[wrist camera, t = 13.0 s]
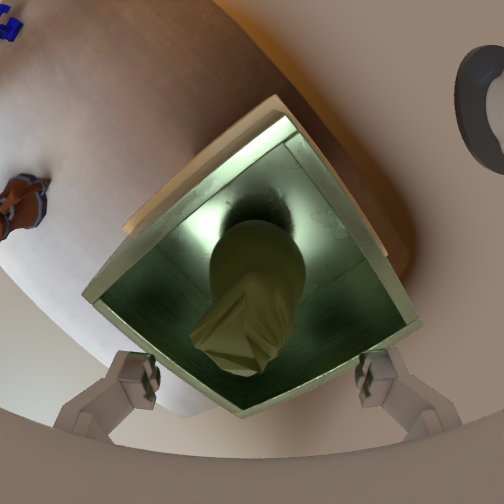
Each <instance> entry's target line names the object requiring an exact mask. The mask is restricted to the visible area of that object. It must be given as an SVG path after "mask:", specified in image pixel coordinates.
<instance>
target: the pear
mask: <svg viewBox="0 0 504 504" xmlns="http://www.w3.org/2000/svg"><path fill="white" fill-rule="evenodd" d="M305 279H306V268H305V262H304V259H303V256H302V253H301V251H300V249H299V247H298V245H297V244H296V242H295V241H294V240H293V239H292V237H291V236H290V235H289V234H288V233H287V232H285V231H284V230H283V229H282V228H280V227H278V226H277V225H275V224H273V223H270V222H267V221H263V220H248V221H244V222H241V223H239V224H237V225H235V226H233V227H231V228H230V229H229V230H227V231H226V232H225V233H224V234H223V235H222V236H221V237H220V239H219V240H218V241H217V243H216V245H215V246H214V249H213V251H212V254H211V257H210V263H209V281H210V289H211V294H212V299H213V302H214V304H213V305H212V306H211V307H210V308H209V309H208V310H207V311H206V312H205V313H204V315H203V316H202V317H201V318H200V319H199V320H198V321H197V322H196V324H195V326H194V327H193V329H192V333H191V334H190V337H191V340H192V343H193V345H194V347H195V348H197V349H200V350H202V351H203V352H205V353H206V354H207V355H208V356H209V357H210V358H211V359H212V360H213V361H214V362H215V363H216V364H217V365H218V366H219V367H220V368H221V369H222V370H224V371H228V372H230V373H232V374H234V375H241V376H245V377H249V376H251V375H253V374H256V373H262V372H263V370H264V368H265V367H266V365H267V363H268V362H270V361H271V360H272V359H274V358H275V357H276V356H277V355H278V354H279V353H280V352H281V351H282V350H283V348H284V347H285V345H286V343H287V342H288V340H289V338H290V336H291V333H292V330H293V325H294V311H295V309H296V307H297V305H298V303H299V301H300V298H301V296H302V293H303V290H304V286H305Z"/></svg>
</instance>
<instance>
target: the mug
mask: <svg viewBox="0 0 504 504" xmlns="http://www.w3.org/2000/svg"><path fill="white" fill-rule="evenodd" d="M49 183H50V180H49V179H46V180H45V181H41V180H36V179H35V178H34V176H31V175H25V174H20V175H18V176H16V177H13V178H11V179H10V180H9V182H8V184H7V186H6V188H5V190H4V191H3V192H2V193H1V194H0V242H1V241H2V240H5V239H6V238H7V236H8V234H9V233H10V232H11V231H13V230H15V229H19V228H25V229H30V228H34V227H37V226H38V225H39V223H40V222H41V220H42V219H43V217H44V216H45V214H46V202H47V199H46V197H45V194H44V193H45V191H46V187H47V186H48V185H49Z"/></svg>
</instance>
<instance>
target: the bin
mask: <svg viewBox="0 0 504 504" xmlns="http://www.w3.org/2000/svg"><path fill="white" fill-rule="evenodd" d="M248 220H263V221H267V222H270V223H273V224H275V225H277V226H278V227H280V228H282V229H283V230H284V231H285V232H287V233H288V234H289V235H290V236H291V237H292V239H293V240H294V241H295V242H296V244H297V245H298V247H299V249H300V251H301V253H302V256H303V259H304V262H305V268H306V279H305V286H304V290H303V293H302V296H301V298H300V301H299V303H298V305H297V307H296V309H295V311H294V325H293V330H292V333H291V336H290V338H289V340H288V342H287V343H286V345H285V347H284V348H283V350H282V351H281V352H280V353H279V354H278V355H277V356H276V357H275V358H274V359H272V360H271V361H270V362H268V363H267V365H266V367H265V368H264V370H263V372H262V373H256V374H253V375H251V376H249V377H245V376H241V375H234V374H232V373H230V372H228V371H224V370H222V369H221V368H220V367H219V366H218V365H217V364H216V363H215V362H214V361H213V360H212V359H211V358H210V357H209V356H208V355H207V354H206V353H205V352H203V351H202V350H200V349H197V348H195V347H194V345H193V343H192V340H191V337H190V334H191V333H192V329H193V327H194V326H195V324H196V322H197V321H198V320H199V319H200V318H201V317H202V316H203V315H204V313H205V312H206V311H207V310H208V309H209V308H210V307H211V306H212V305H213V304H214V302H213V299H212V294H211V289H210V281H209V263H210V257H211V254H212V251H213V249H214V246H215V245H216V243H217V241H218V240H219V239H220V237H221V236H222V235H223V234H224V233H225V232H226V231H227V230H229V229H230V228H231V227H233V226H235V225H237V224H239V223H241V222H244V221H248ZM122 228H123V230H124V231H125V232H126V233H127V234H128V236H127V237H126V238H125V240H124V241H123V242H122V243H121V244H120V246H119V247H118V248H117V249H116V250H115V252H114V253H113V254H112V255H111V257H110V258H109V259H108V260H107V261H106V263H105V264H104V265H103V266H102V268H101V269H100V270H99V272H98V273H97V274H96V275H95V277H94V278H93V279H92V281H91V282H90V283H89V284H88V286H87V287H86V288H85V290H84V291H83V292H82V296H83V297H84V298H85V299H86V300H87V301H88V302H89V303H90V304H93V305H92V306H93V307H94V308H95V309H96V310H97V311H98V312H100V313H101V314H102V315H103V316H104V317H105V318H106V319H107V320H108V321H110V322H111V323H112V324H113V325H114V326H115V327H116V328H118V329H119V330H120V331H121V332H122V333H123V334H125V335H126V336H127V337H128V338H129V339H130V340H132V341H133V342H134V343H135V344H137V345H138V346H139V347H140V348H141V349H143V350H144V351H145V352H146V353H149V354H154V356H155V359H156V360H157V361H158V362H159V363H160V364H162V365H163V366H164V367H166V368H167V369H168V370H170V371H171V372H172V373H174V374H175V375H177V376H178V377H179V378H181V379H182V380H183V381H185V382H186V383H188V384H189V385H190V386H192V387H193V388H195V389H196V390H198V391H199V392H200V393H202V394H203V395H205V396H206V397H208V398H209V399H211V400H212V401H214V402H215V403H217V404H218V405H220V406H222V407H223V408H225V409H226V410H228V411H229V412H231V413H233V414H234V415H236V416H237V417H239V418H240V419H244V418H246V417H249V416H252V415H254V414H257V413H259V412H262V411H264V410H266V409H269V408H271V407H274V406H276V405H278V404H281V403H283V402H285V401H288V400H290V399H292V398H294V397H296V396H299V395H301V394H303V393H305V392H307V391H309V390H312V389H314V388H315V387H318V386H320V385H322V384H324V383H326V382H328V381H330V380H332V379H334V378H336V377H338V376H340V375H341V374H343V373H345V372H347V371H349V370H351V369H353V368H355V367H356V365H357V364H359V363H360V360H359V355H360V353H361V351H367V350H375V349H385V348H389V347H391V346H393V345H394V344H396V343H397V342H399V341H401V340H402V339H404V338H405V337H407V336H408V335H410V334H412V333H413V332H415V331H416V330H418V329H419V328H421V327H422V326H423V324H422V322H421V320H420V319H419V316H418V314H417V312H416V310H415V308H414V307H413V305H412V303H411V301H410V299H409V297H408V295H407V293H406V292H405V290H404V288H403V286H402V284H401V282H400V281H399V279H398V277H397V275H396V273H395V272H394V270H393V268H392V266H391V265H390V263H389V261H388V259H387V258H386V256H387V255H388V253H387V251H386V250H385V248H384V246H383V245H382V243H381V241H380V240H379V238H378V236H377V235H376V233H375V231H374V230H373V228H372V226H371V225H370V223H369V222H368V220H367V218H366V217H365V215H364V214H363V212H362V211H361V209H360V207H359V206H358V204H357V203H356V201H355V200H354V198H353V197H352V195H351V194H350V192H349V191H348V189H347V188H346V186H345V185H344V183H343V182H342V180H341V179H340V178H339V176H338V175H337V173H336V172H335V170H334V169H333V167H332V166H331V165H330V163H329V162H328V160H327V159H326V158H325V156H324V155H323V154H322V152H321V151H320V149H319V148H318V147H317V145H316V144H315V143H314V141H313V140H312V139H311V137H310V136H309V135H308V133H307V132H306V131H305V130H304V128H303V127H302V126H301V124H300V123H299V122H298V121H297V119H296V118H295V117H294V115H293V114H292V113H291V112H290V110H289V109H288V108H287V107H286V106H285V104H284V103H283V102H282V101H281V99H280V98H279V97H278V96H277V95H276V94H274V95H272V96H271V97H269V98H267V99H265V100H264V101H262V102H261V103H260V104H258V105H257V106H256V107H255V108H253V109H252V110H251V111H249V112H248V113H247V114H245V115H244V116H243V117H242V118H240V119H239V120H238V121H237V122H235V123H234V124H233V125H232V126H230V127H229V128H228V129H227V130H225V131H224V132H223V133H222V134H221V135H219V136H218V137H217V138H216V139H214V140H213V141H212V142H211V143H210V144H209V145H207V146H206V147H205V148H204V149H203V150H202V151H200V152H199V153H198V154H197V155H196V156H195V157H193V158H192V159H191V160H190V161H189V162H188V163H187V164H186V165H185V166H184V167H182V168H181V169H180V170H179V171H178V172H177V173H176V174H175V175H174V176H173V177H172V178H171V179H170V180H169V181H167V182H166V183H165V184H164V185H163V186H162V187H161V188H160V189H159V190H158V191H157V192H156V193H155V194H154V195H153V196H152V197H151V198H150V199H149V200H148V201H147V202H146V203H145V204H144V205H143V206H142V207H141V208H140V209H139V210H138V211H137V212H136V213H135V214H134V215H133V216H132V217H131V218H130V219H129V220H128V221H127V222H126V223H125V224H124V225H123V227H122Z"/></svg>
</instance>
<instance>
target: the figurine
mask: <svg viewBox="0 0 504 504" xmlns="http://www.w3.org/2000/svg"><path fill="white" fill-rule="evenodd" d="M10 8H11V7H10V6H8V5H4V4H0V16H1V15H2V13H8V11H9V10H10ZM22 26H23V24H22V23H21V22H20V21H18V20H17V19H15V18H10V19H9V21H8V23H7V24H6V25H4V24H0V39H7V40H8V41H10V42H13V41H14V39H15V38H16V36H17V34H18V33H19V31H20V29H21V28H22Z"/></svg>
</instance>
